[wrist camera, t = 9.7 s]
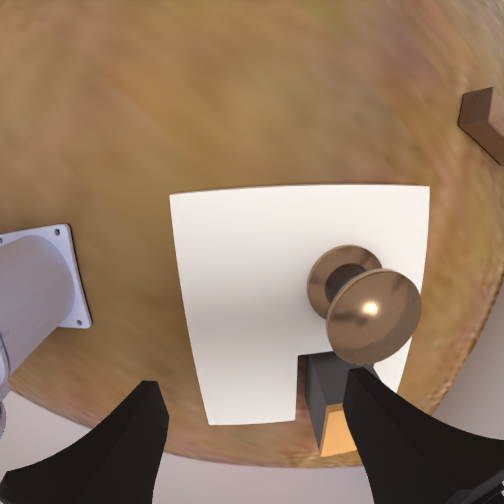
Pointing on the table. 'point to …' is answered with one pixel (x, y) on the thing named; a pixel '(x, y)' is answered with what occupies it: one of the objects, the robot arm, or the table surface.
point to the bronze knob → (363, 304)
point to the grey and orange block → (329, 401)
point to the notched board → (279, 281)
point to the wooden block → (485, 120)
